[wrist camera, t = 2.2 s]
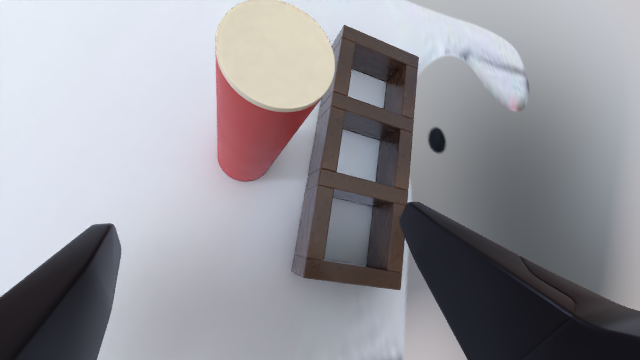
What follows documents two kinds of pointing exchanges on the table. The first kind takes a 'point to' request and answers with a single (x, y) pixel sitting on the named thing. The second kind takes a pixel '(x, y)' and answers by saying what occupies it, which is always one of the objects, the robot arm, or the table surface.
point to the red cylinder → (266, 82)
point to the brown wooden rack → (327, 183)
